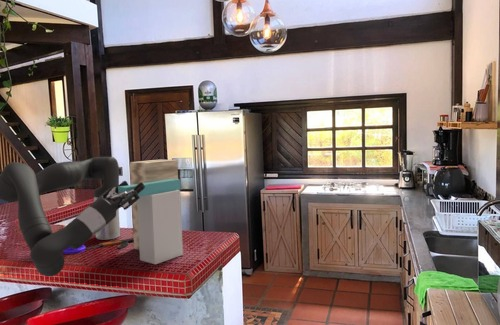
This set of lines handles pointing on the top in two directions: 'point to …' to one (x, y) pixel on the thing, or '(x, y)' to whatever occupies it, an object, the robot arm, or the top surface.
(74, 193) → the top surface
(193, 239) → the top surface
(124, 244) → the toy rifle
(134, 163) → the stand
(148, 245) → the white tall block
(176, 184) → the teal long bar
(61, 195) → the top surface
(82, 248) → the figurine
